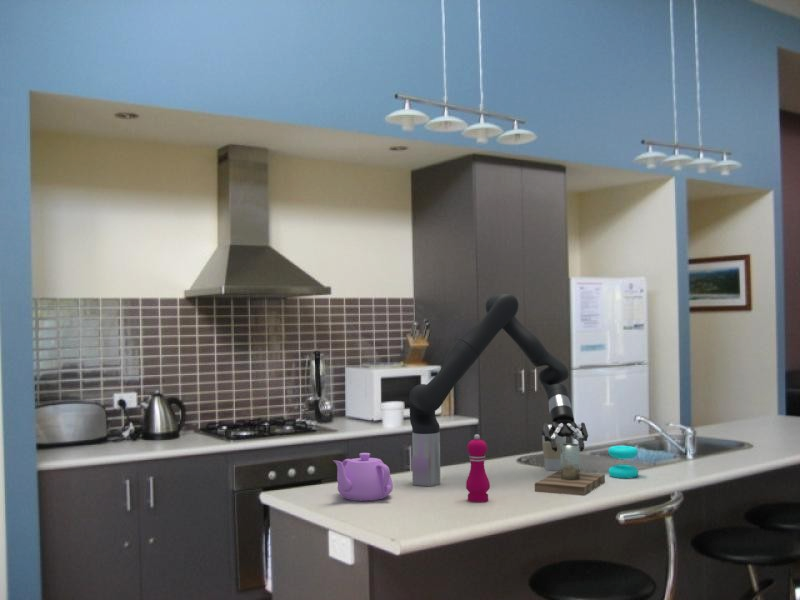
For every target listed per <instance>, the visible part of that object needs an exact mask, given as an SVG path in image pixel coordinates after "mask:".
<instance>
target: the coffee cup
mask: <svg viewBox="0 0 800 600" xmlns="http://www.w3.org/2000/svg"><path fill="white" fill-rule="evenodd" d="M553 433H554V431H553V430H552V429H550V431H549V436H552V435H553ZM541 439H542V452H543V454H542V455H543V459H544V460H543V462H544V469H545V470H546V471H552V472H553V471H554V472H558V471H561V444H566V443H567V441H566V440H567V437H566V436H565V437H561V436H558V438H557V439H556V444H557V452H554V450H552V447H551V442H549V441H547V442H546V441H545V440H544V430H543V431H541Z"/></svg>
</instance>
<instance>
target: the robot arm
mask: <svg viewBox="0 0 800 600" xmlns="http://www.w3.org/2000/svg"><path fill="white" fill-rule="evenodd" d="M518 310H519V302H518V299H517V297H516V296H515V295H513V294H510V293H497V294H493V295H491V296H489V297H488V299H487V300H486V302H485V311H486V314H485V316H484V317H483V318H482V319H481V320H480V321H479V322H477V323H476V324H475V325H473V326H472V327H471V328H469V330H467V331H465V332H464V333H463V334H462V335H461V336H460V337H459V338H458V339H457V340H456V342H455V343H454V344H453V345H452V346H451V348H450V349H449V351H448V352H447V354H446V355H445V358H444V362H443V364H442V366H441V367H440V369H439V371H438V372H437V373H436V374H435V375H434V376H433V378H432V379H431V380H430V381H429V382H428V383H427V384H426V383H424V384H423V383H421V384H417V385H415V386H414V387H412V389H411V390H410V393H409V399H408V400H409V401H408V402H409V403H408V404H409V406H408V407H409V420H410V425H411V426H410V427H411V431H412V432H411V434H412V439H411V440H412V457H411V465H412V467H411V468H412V470H411V472H412V475H411V476H412V481H411V482H412V486H420V487H432V486H438V485H440V484H441V444H440V443H441V435H440V434H441V433H440V430H441V429H440V423H439V422H438V420H437V416H436V411H437V410H438V409H440V408H441V406H442V404H443V403H444V402H445V400H446V399H447V397H448V395H449V394H450V393H451V391H452V390H453V389H454V387H455V385H456V384H457V383H458V382H459V381H460V380H462V377H464V375H465V374H466V373H467V371H469V369H470V368H471V367H472V366H473V365H474V364H475V362H476V361H477V360H478V359H479V358H480V356H481V355H482V354H483V352H485V350H486V349H487V347H488V346H489V345H490V344H491V342H492V341H493V339H494V338H496V336H497V334H499V332H500V331H501V330H503V331H505V333H506V334H507V335H508V336H509V337H510V338H511V339H512V340H513V341H514V343H515V344H516V345H517V346H518V347H519V349H520V350H521V351H522V352H523V353H524V355H525V356H526V357H527V359H528V360H529V361H530V363H531V364H532V365H533V366H534V367H536V368H537V367H543V366H546V367H544V369H542V370H540V371H539V374H538V380H539V382H540V384H541V385H542V387H543V389H544V391H545V392H546V395H547V400H548V411H549V415H550V419H551V424H548V423H547V422H544V423H543V428H542V429H543V431H544V440H545V441H546V442H547V441H549V442H551V447H552V450H554V452H557V444H556V439H557V438H558V436H561V437H565V436H566V438H570V437H572V439H573V440H576V441H577V442H578V443H577V444H579V452H583V450H584V449H585V442H587V441H588V438H589V433H588V430H587V427H586V424H585V422H582V421H581V423H579V424H578V423H576V422H575V417H574V414H573V407H572V403H571V401H570V398H569V393H568V390H567V387H566V386H565V385H564V384H562V383H563V382H564V381H566V380H567V379H568V378H569V376H570V374H569V370H568V368H567V366H566V365H565V364H564V363H563V362H562V361H561V360H559V359H557V358H556V357H555V356H554V355H552V353H551V352H549V351H548V349H546V347H545V346H544V345H543V343H542V342H541V340H539V338H538V337H537V336H536V335H534V333H532V332H531V331H530V330H529V329H528V328H526V326H525V325H523V324H522V323H521V321H520V320H518V319H517V317H516V316H517V313H518ZM550 429H552V430H553V431H554V433H553V435H552V436H549V431H550ZM577 429H578V430H577ZM580 432H581V433H580Z"/></svg>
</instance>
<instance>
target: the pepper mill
mask: <svg viewBox="0 0 800 600" xmlns="http://www.w3.org/2000/svg"><path fill="white" fill-rule="evenodd" d="M467 443H468V444H467V447H466V449H467V452H468V453H469V456H468V457H469V459H468V460H469V461H470V470H469V474H468V476H467V477H466V480H465V481H466V482H465V488H466V490H467V491H468V494H467V501H468V502H471V503H485V502H489V494H488V491H489V490H490V488H491V487H490V485H491V484H490V480H489V477H488V476H487V472H486V470H485V461H486V460H487V459H486V452H487V451H488V446H487V443H486V442H485V441H484V439H483V440H482V439H481V436H480V434H477V433H476V434H474V436H473V439H472V440H470V441H469V442H467Z"/></svg>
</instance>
